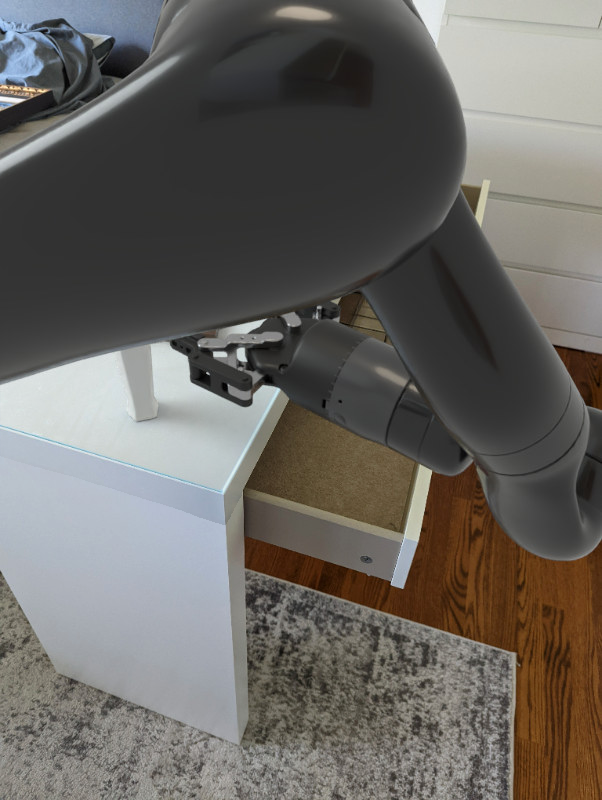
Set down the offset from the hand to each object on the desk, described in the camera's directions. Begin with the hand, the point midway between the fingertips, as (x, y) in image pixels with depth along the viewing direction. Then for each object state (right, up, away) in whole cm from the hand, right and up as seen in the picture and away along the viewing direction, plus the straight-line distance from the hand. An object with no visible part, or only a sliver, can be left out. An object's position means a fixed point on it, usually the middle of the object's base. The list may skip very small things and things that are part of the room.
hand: (204, 310), depth 53 cm
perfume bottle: (-10, -10, +18) cm, 22 cm away
